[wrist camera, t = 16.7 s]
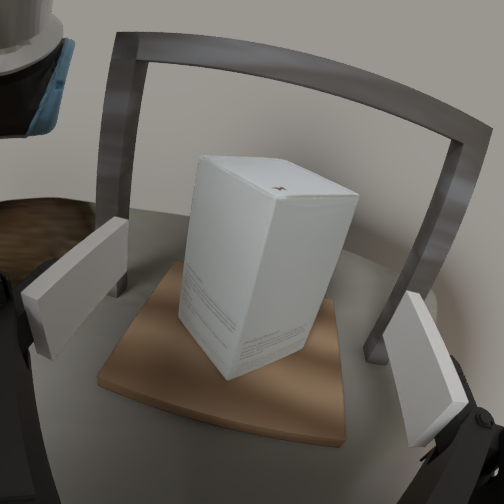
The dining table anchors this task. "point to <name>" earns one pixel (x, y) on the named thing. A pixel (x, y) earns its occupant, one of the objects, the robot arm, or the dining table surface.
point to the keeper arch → (324, 327)
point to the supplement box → (259, 258)
